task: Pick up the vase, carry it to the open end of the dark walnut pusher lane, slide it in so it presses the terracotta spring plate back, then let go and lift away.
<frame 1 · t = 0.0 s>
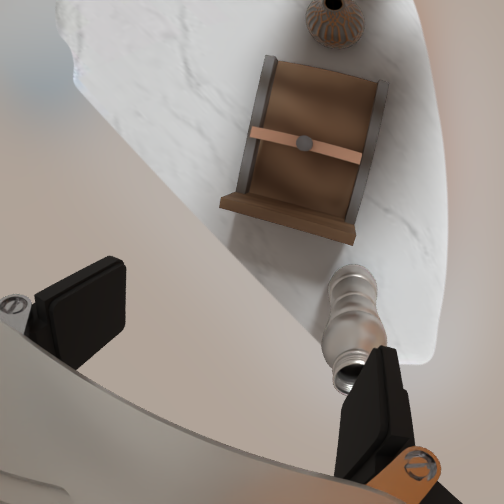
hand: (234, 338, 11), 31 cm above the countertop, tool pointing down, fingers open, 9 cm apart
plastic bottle: (352, 282, 41), on the countertop
vase: (336, 32, 32), on the countertop
pusher lane: (312, 141, 37), on the countertop
pusher plate: (307, 144, 33), point 4 cm above the countertop, slide at 0.0 cm
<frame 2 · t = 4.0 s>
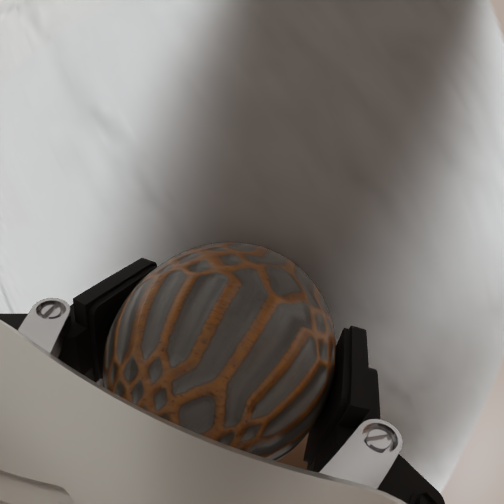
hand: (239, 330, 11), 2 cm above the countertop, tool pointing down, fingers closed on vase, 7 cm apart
vase: (255, 303, 13), on the countertop, touching gripper
pusher lane: (209, 476, 18), on the countertop
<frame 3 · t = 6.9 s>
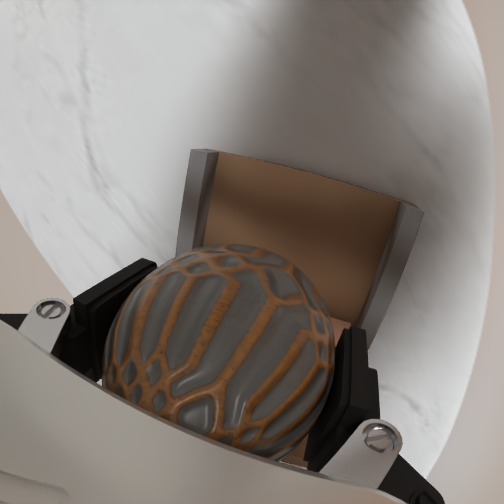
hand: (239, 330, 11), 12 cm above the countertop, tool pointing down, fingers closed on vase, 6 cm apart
vase: (255, 304, 13), point 10 cm above the countertop, touching gripper
pusher lane: (277, 296, 24), on the countertop
pusher plate: (261, 333, 20), point 4 cm above the countertop, slide at 0.0 cm
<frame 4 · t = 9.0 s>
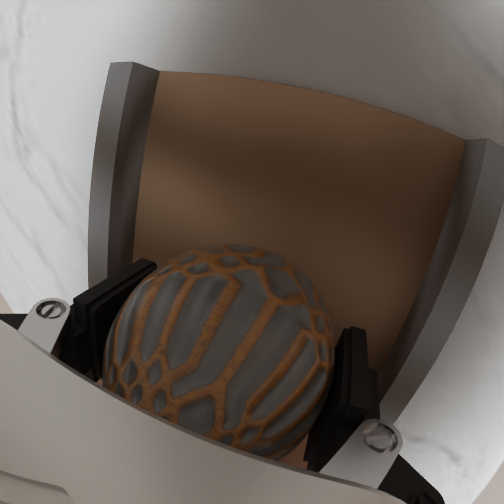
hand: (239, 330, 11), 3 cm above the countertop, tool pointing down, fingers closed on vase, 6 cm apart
vase: (255, 304, 13), point 1 cm above the countertop, touching gripper
pusher lane: (256, 309, 14), on the countertop
pusher plate: (210, 424, 11), point 4 cm above the countertop, slide at 2.7 cm
when the fingers open (3 cm above the countertop, at t = 10.1 s): vase stays where it is, resting on pusher lane.
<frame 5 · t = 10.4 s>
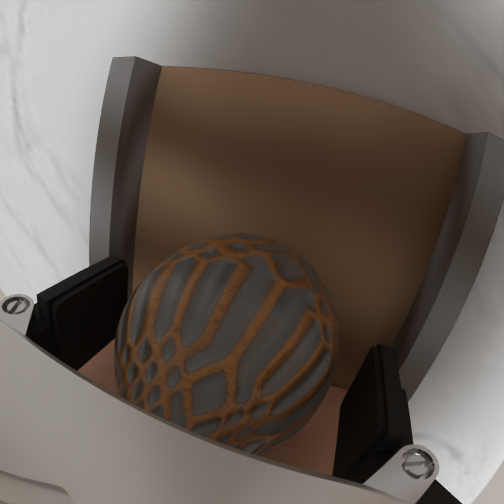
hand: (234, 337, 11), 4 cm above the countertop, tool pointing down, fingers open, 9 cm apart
vase: (259, 294, 14), resting on pusher lane
pusher lane: (258, 303, 14), on the countertop
pusher plate: (212, 419, 11), point 4 cm above the countertop, slide at 2.7 cm
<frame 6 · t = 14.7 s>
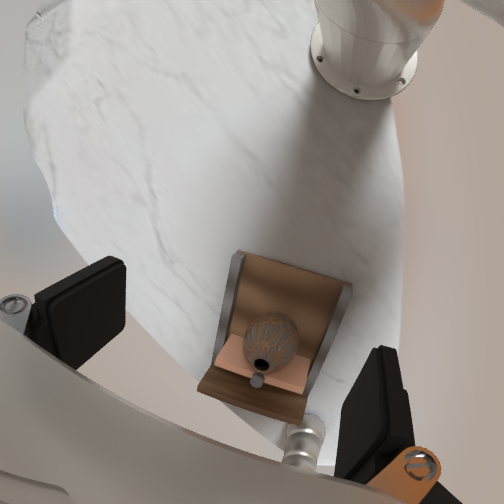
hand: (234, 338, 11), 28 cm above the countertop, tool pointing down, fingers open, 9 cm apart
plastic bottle: (308, 421, 47), on the countertop
vase: (277, 326, 42), resting on pusher lane, touching pusher plate
pusher lane: (276, 328, 43), on the countertop
pusher plate: (263, 365, 40), point 4 cm above the countertop, slide at 2.7 cm, touching vase
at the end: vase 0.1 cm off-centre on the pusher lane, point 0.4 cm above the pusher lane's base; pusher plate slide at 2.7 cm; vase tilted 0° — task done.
